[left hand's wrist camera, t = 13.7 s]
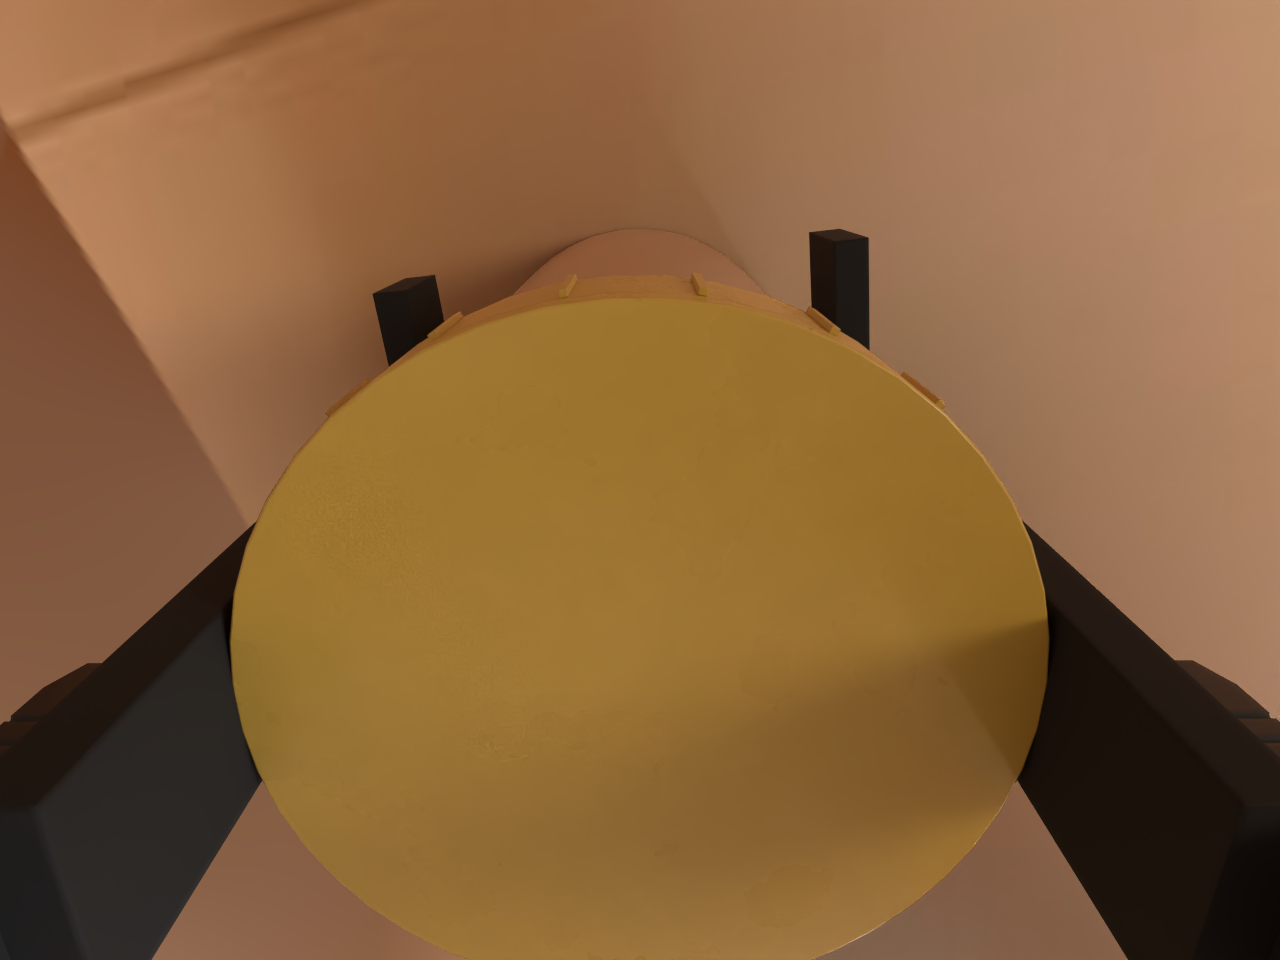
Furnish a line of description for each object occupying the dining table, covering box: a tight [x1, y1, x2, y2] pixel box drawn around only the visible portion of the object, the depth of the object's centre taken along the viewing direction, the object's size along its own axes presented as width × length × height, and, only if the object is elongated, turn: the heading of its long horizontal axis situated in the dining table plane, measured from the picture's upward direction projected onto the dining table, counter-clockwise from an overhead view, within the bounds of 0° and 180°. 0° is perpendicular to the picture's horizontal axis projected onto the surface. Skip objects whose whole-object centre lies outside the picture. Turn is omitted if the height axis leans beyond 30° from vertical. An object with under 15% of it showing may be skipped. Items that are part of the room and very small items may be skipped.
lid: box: [229, 272, 1050, 960], centre depth 11 cm, size 10×10×2 cm
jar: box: [512, 229, 768, 296], centre depth 19 cm, size 9×9×17 cm
